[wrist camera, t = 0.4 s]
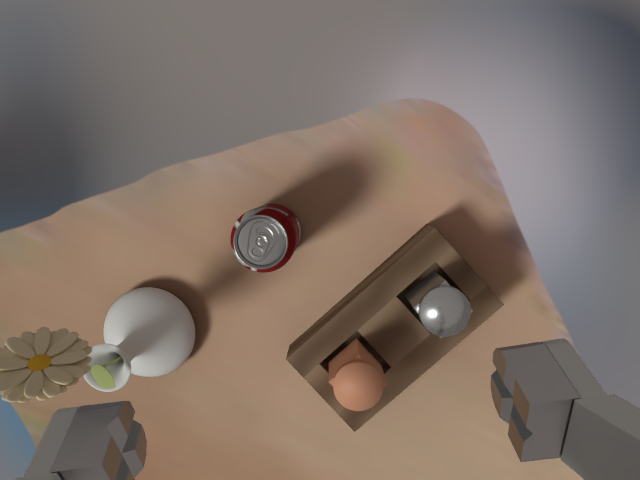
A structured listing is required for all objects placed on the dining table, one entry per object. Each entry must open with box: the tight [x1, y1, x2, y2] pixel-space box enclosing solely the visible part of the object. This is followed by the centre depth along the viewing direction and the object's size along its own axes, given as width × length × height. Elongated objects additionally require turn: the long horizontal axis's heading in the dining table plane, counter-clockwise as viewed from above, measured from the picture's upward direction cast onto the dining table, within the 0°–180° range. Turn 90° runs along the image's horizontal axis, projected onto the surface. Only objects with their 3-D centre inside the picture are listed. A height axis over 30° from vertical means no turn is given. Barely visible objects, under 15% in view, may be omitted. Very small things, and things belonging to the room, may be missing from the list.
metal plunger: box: [405, 271, 473, 338], centre depth 55 cm, size 5×5×7 cm
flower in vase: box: [0, 287, 195, 403], centre depth 52 cm, size 13×11×25 cm
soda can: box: [231, 204, 301, 272], centre depth 56 cm, size 7×7×12 cm
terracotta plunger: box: [329, 338, 387, 411], centre depth 56 cm, size 5×5×7 cm
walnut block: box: [286, 224, 504, 432], centre depth 61 cm, size 12×23×5 cm, turn 132°
